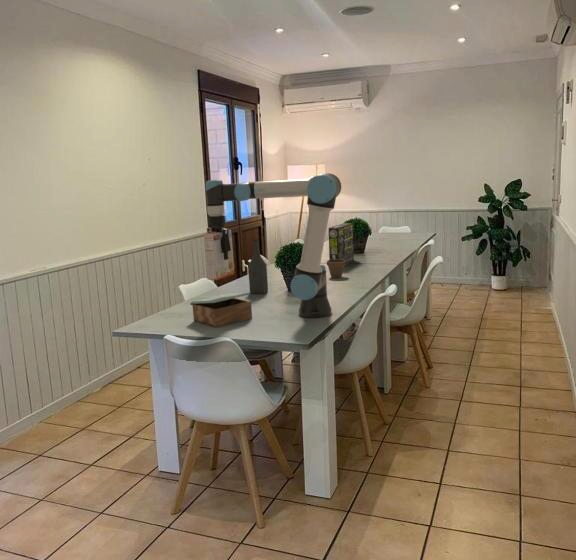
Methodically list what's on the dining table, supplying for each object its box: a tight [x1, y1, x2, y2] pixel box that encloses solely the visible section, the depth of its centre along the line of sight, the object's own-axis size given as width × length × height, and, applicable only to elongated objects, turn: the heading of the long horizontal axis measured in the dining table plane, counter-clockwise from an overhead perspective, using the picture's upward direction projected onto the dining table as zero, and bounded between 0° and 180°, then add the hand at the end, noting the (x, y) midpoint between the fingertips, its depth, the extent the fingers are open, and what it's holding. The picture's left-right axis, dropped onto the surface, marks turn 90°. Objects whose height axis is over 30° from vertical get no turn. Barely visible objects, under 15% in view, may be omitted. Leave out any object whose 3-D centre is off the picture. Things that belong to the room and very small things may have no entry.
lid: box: [191, 291, 251, 304], centre depth 267 cm, size 18×20×1 cm
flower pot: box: [326, 259, 346, 279], centre depth 355 cm, size 12×11×10 cm
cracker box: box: [203, 229, 236, 281], centre depth 263 cm, size 14×6×21 cm, turn 151°
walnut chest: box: [190, 297, 253, 328], centre depth 268 cm, size 19×21×9 cm
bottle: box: [247, 238, 269, 295], centre depth 321 cm, size 10×10×30 cm
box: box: [328, 222, 355, 266], centre depth 398 cm, size 34×7×27 cm, turn 157°
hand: (220, 265), depth 264 cm, fingers closed on cracker box, 7 cm apart
